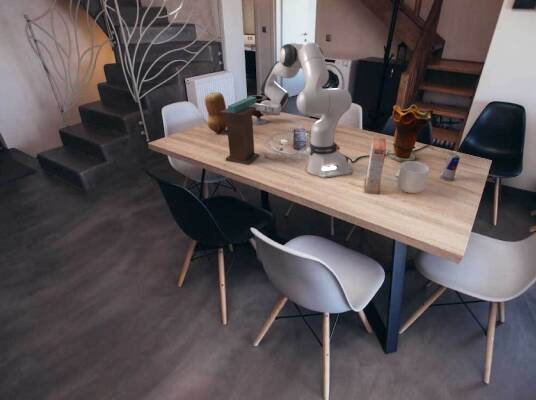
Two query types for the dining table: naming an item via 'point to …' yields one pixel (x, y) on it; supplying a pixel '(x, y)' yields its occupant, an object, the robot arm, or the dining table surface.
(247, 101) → the batten
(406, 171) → the handleless ceramic cup
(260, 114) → the mate gourd
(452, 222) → the dining table surface
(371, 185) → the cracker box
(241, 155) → the plinth
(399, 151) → the decorative vase
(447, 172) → the energy drink
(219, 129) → the butternut squash
